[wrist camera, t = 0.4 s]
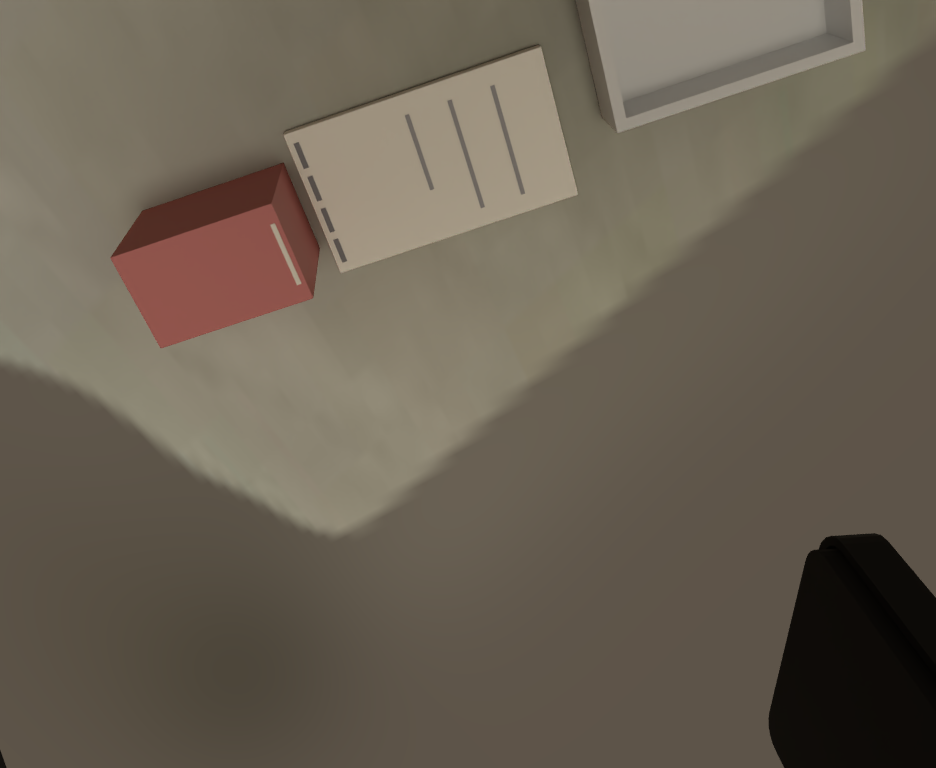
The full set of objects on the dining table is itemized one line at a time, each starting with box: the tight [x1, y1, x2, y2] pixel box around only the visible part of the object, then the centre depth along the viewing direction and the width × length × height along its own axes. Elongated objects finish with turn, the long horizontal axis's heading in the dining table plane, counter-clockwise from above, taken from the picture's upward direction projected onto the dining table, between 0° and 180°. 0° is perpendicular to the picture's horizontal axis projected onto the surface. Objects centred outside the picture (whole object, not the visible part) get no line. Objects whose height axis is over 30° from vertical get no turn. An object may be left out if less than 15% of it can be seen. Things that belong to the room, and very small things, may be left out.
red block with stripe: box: [111, 163, 320, 348], centre depth 39 cm, size 4×7×6 cm, turn 107°
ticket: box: [284, 45, 578, 273], centre depth 41 cm, size 7×12×1 cm, turn 107°
